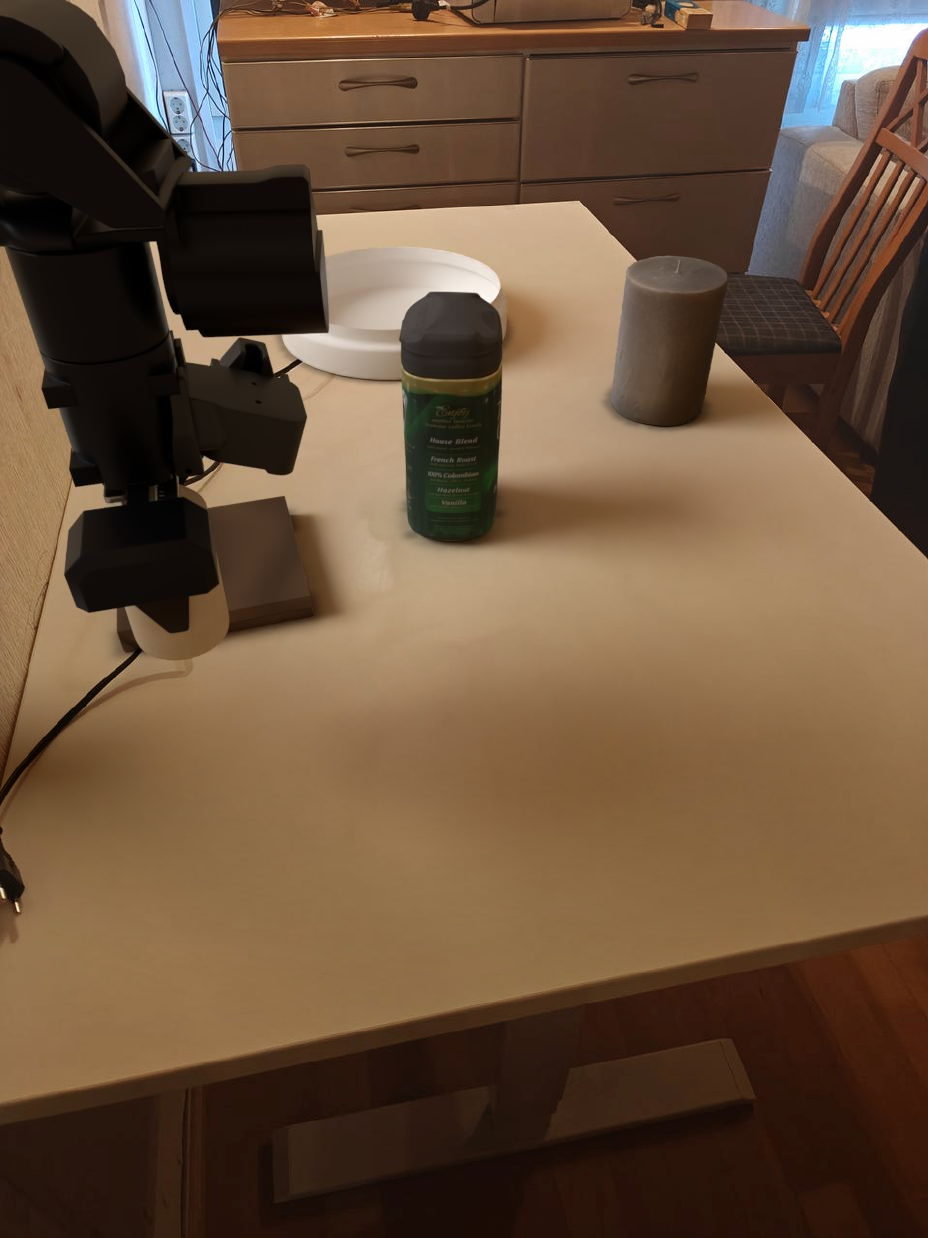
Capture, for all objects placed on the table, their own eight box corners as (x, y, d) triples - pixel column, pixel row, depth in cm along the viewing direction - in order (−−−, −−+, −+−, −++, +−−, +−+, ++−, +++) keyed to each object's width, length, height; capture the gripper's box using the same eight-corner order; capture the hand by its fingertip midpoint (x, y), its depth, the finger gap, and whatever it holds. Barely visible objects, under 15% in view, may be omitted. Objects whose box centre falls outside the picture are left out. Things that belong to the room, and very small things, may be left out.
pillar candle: (719, 419, 89) (752, 271, 79) (632, 433, 87) (654, 283, 77) (676, 377, 96) (701, 236, 86) (594, 389, 94) (610, 246, 84)
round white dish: (525, 297, 113) (528, 254, 109) (476, 393, 93) (477, 345, 89) (329, 278, 118) (325, 236, 114) (244, 365, 98) (236, 318, 94)
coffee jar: (498, 546, 73) (506, 334, 61) (404, 545, 73) (392, 333, 61) (497, 483, 80) (503, 281, 68) (411, 482, 80) (402, 280, 68)
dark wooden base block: (123, 652, 64) (116, 632, 62) (122, 541, 74) (115, 522, 72) (313, 615, 67) (310, 595, 65) (287, 514, 77) (284, 495, 75)
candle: (133, 604, 53) (91, 467, 46) (225, 590, 54) (198, 455, 47) (135, 669, 49) (90, 531, 42) (234, 652, 51) (206, 515, 44)
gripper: (310, 411, 35) (343, 684, 45) (262, 251, 48) (296, 489, 58) (11, 449, 32) (119, 727, 43) (48, 269, 46) (123, 514, 56)
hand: (177, 597), depth 50 cm, fingers closed on candle, 5 cm apart
